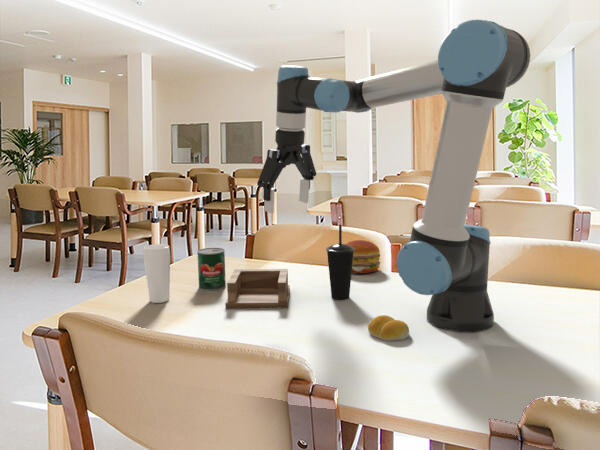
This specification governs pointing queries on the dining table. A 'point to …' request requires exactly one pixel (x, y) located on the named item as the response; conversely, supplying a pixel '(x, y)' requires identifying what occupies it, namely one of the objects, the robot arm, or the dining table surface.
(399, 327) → the bread roll
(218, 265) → the canned tomato
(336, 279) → the drinking cup
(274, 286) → the walnut rest
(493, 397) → the dining table surface
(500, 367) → the dining table surface
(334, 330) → the dining table surface
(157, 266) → the drinking glass
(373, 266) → the burger
